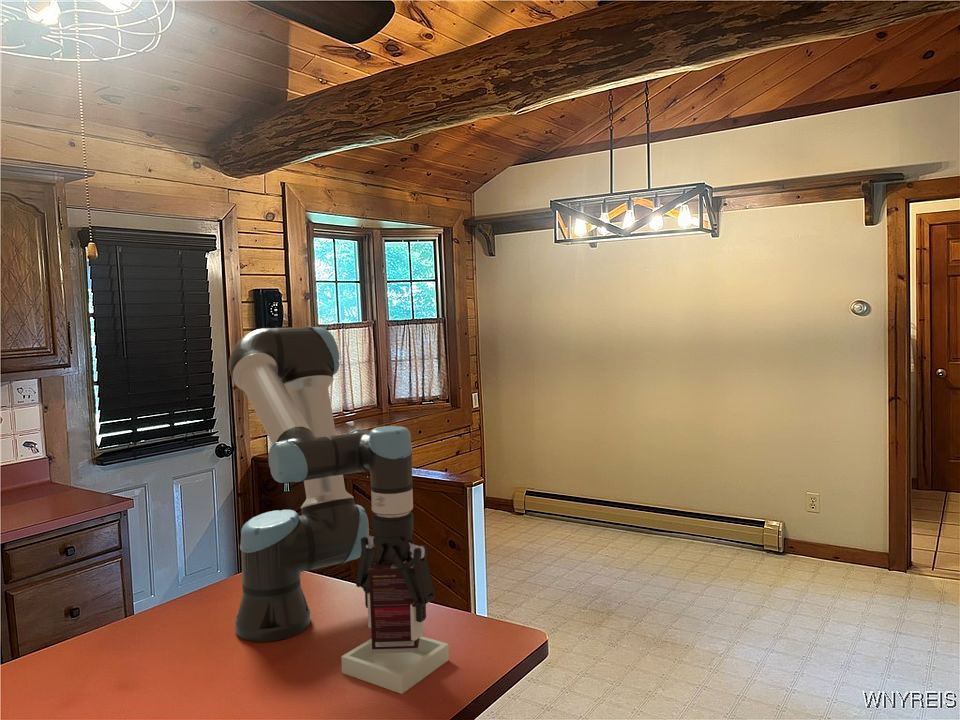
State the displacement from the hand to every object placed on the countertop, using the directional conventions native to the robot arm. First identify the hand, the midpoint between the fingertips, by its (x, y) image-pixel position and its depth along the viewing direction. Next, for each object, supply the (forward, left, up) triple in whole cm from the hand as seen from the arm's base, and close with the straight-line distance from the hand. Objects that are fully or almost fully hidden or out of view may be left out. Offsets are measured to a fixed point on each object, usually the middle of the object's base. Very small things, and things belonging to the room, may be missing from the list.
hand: (395, 631), depth 134 cm
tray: (0, 0, -7) cm, 7 cm away
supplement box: (0, 0, -3) cm, 3 cm away
